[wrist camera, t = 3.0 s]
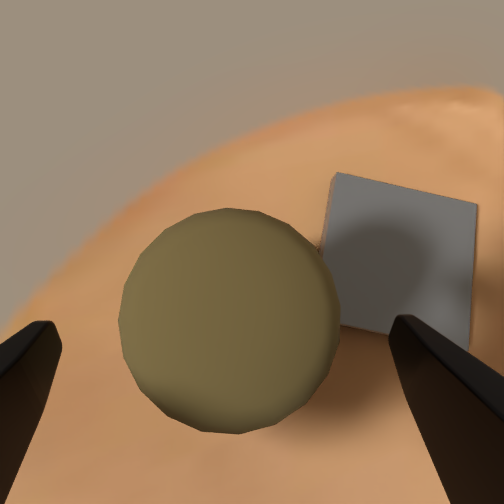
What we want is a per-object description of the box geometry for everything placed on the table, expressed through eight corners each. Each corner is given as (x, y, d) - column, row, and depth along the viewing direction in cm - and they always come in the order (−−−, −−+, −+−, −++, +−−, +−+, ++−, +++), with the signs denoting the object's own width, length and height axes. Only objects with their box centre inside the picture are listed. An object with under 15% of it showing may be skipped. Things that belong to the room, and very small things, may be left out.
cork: (298, 279, 18) (404, 209, 7) (272, 396, 17) (355, 523, 6) (188, 250, 18) (132, 137, 7) (153, 366, 17) (18, 439, 6)
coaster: (455, 349, 18) (468, 351, 17) (308, 318, 18) (312, 317, 17) (464, 210, 20) (476, 204, 19) (331, 179, 19) (336, 172, 18)
